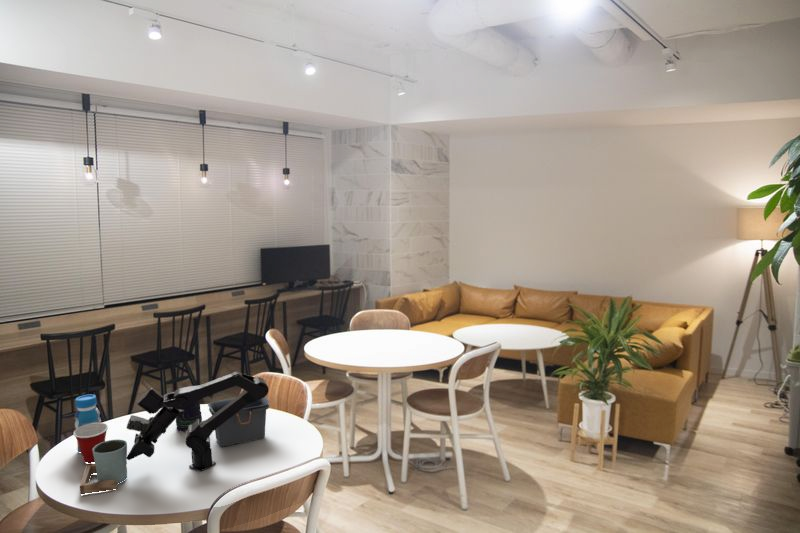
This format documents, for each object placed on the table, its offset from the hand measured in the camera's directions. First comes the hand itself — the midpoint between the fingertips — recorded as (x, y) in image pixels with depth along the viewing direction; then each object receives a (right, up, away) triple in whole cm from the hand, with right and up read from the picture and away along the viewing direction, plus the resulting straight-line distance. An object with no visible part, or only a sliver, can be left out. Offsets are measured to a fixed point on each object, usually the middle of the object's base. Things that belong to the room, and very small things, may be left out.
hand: (127, 458), depth 194 cm
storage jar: (+5, -1, +43) cm, 43 cm away
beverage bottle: (-24, -4, +23) cm, 34 cm away
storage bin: (+30, -3, +29) cm, 42 cm away
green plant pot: (-4, -7, -1) cm, 8 cm away
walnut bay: (-8, -7, -2) cm, 11 cm away
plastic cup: (-18, -6, +14) cm, 24 cm away
